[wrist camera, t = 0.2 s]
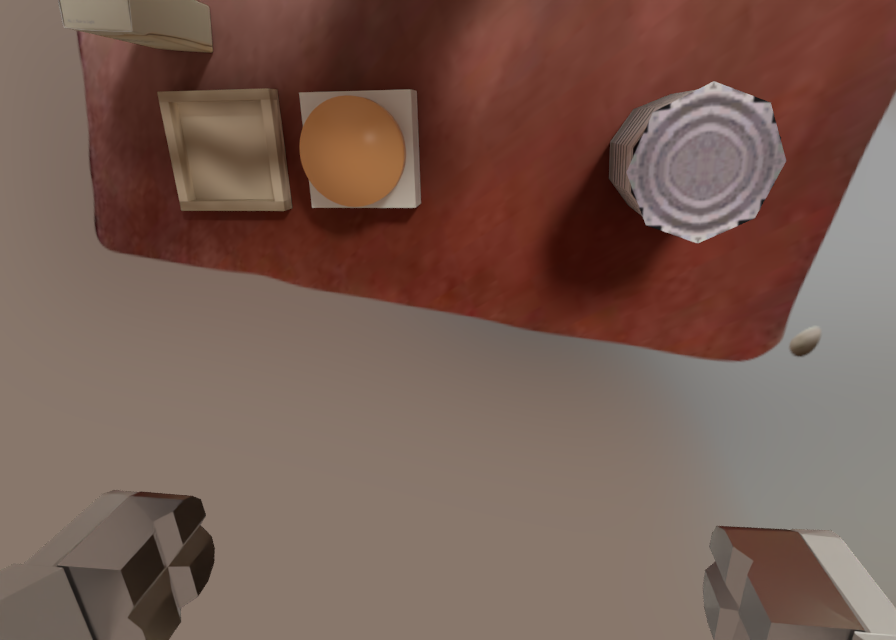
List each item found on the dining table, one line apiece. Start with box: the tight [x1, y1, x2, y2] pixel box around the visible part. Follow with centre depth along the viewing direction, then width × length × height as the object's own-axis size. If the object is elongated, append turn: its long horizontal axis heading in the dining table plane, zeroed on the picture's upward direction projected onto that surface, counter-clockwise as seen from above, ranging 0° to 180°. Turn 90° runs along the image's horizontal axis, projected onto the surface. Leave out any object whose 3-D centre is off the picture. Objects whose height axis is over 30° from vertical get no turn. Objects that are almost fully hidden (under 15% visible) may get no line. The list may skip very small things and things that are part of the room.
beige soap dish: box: [157, 88, 292, 211], centre depth 55 cm, size 12×12×2 cm
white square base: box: [299, 89, 421, 208], centre depth 52 cm, size 11×11×3 cm
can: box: [609, 82, 786, 243], centre depth 45 cm, size 11×11×12 cm
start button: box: [299, 95, 406, 207], centre depth 49 cm, size 10×10×2 cm
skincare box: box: [58, 0, 213, 53], centre depth 46 cm, size 6×4×12 cm
